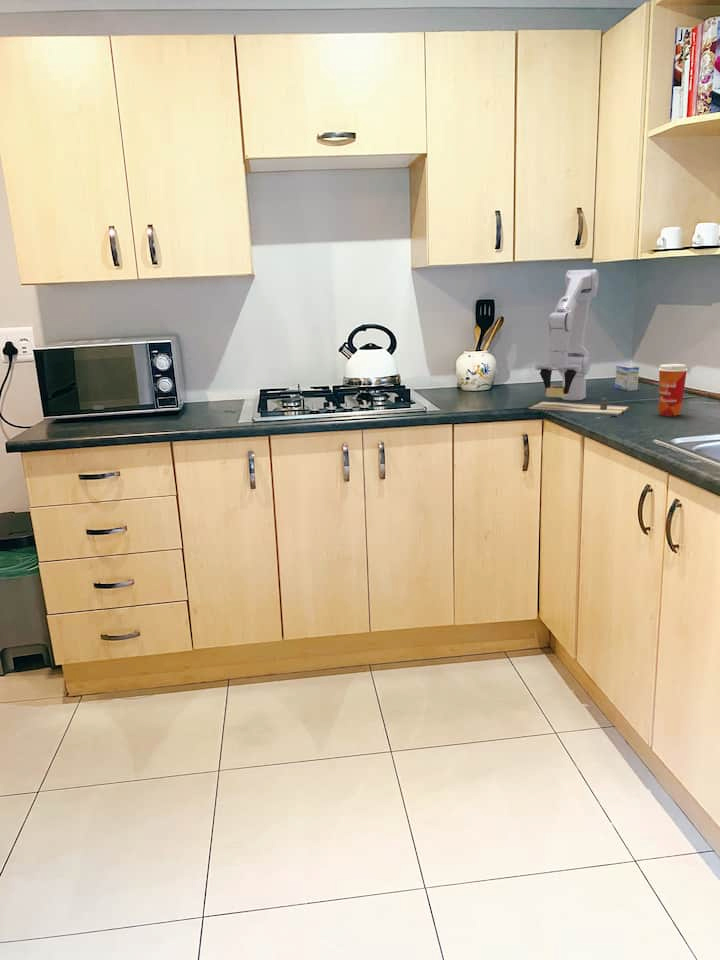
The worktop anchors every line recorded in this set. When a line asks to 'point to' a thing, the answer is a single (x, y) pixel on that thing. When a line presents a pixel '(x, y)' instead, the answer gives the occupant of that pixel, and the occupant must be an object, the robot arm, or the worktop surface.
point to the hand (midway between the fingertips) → (557, 393)
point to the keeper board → (582, 407)
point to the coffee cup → (671, 388)
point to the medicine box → (626, 378)
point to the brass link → (555, 391)
